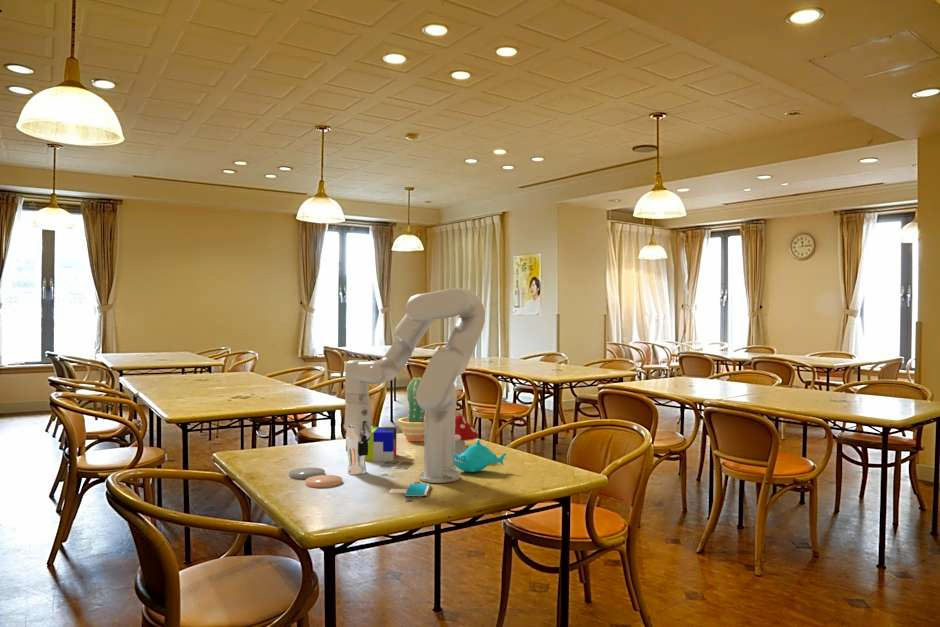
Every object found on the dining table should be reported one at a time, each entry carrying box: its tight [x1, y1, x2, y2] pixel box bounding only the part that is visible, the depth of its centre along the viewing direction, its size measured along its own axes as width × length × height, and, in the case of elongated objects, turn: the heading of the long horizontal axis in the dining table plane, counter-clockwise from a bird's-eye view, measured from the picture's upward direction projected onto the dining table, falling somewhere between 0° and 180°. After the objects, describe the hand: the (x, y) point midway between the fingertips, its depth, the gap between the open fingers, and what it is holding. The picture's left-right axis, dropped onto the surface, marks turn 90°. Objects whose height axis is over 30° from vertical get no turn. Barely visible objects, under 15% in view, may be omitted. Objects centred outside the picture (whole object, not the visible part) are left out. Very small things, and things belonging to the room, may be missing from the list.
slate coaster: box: [288, 467, 326, 480], centre depth 210 cm, size 11×11×1 cm
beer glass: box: [345, 426, 367, 476], centre depth 213 cm, size 7×7×15 cm
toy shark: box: [455, 438, 507, 473], centre depth 215 cm, size 10×18×11 cm, turn 91°
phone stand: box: [388, 481, 431, 502], centre depth 192 cm, size 20×12×2 cm, turn 178°
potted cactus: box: [397, 377, 425, 442], centre depth 267 cm, size 15×15×25 cm
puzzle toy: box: [365, 426, 397, 462], centre depth 235 cm, size 10×10×10 cm
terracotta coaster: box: [304, 474, 343, 489], centre depth 201 cm, size 11×11×1 cm
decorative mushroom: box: [455, 414, 480, 455], centre depth 237 cm, size 14×14×15 cm
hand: (356, 452), depth 213 cm, fingers open, 7 cm apart
